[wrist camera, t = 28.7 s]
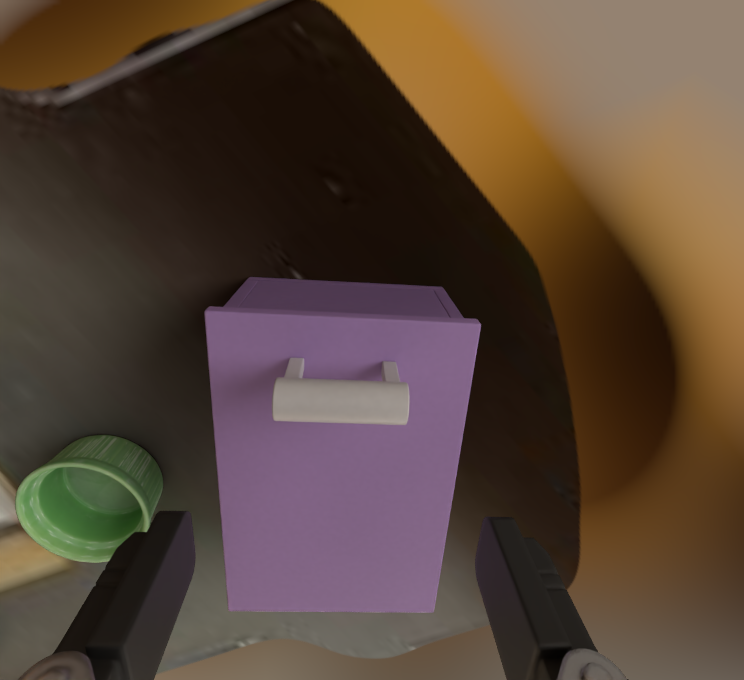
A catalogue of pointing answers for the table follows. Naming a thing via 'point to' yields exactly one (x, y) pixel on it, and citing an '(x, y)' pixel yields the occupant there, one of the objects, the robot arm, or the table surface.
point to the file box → (344, 297)
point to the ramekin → (90, 498)
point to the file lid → (336, 454)
